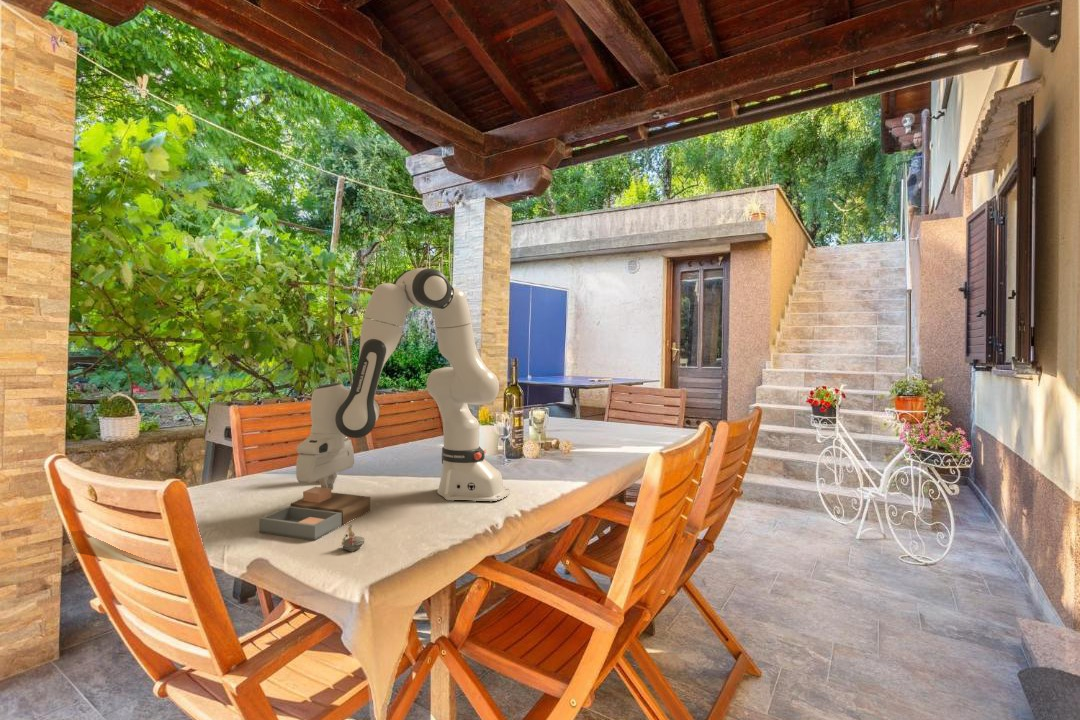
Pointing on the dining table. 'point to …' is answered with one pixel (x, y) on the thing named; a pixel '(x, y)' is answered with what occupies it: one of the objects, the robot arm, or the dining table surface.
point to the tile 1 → (317, 494)
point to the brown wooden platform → (339, 505)
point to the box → (289, 526)
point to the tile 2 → (311, 520)
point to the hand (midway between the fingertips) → (327, 491)
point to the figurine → (352, 541)
